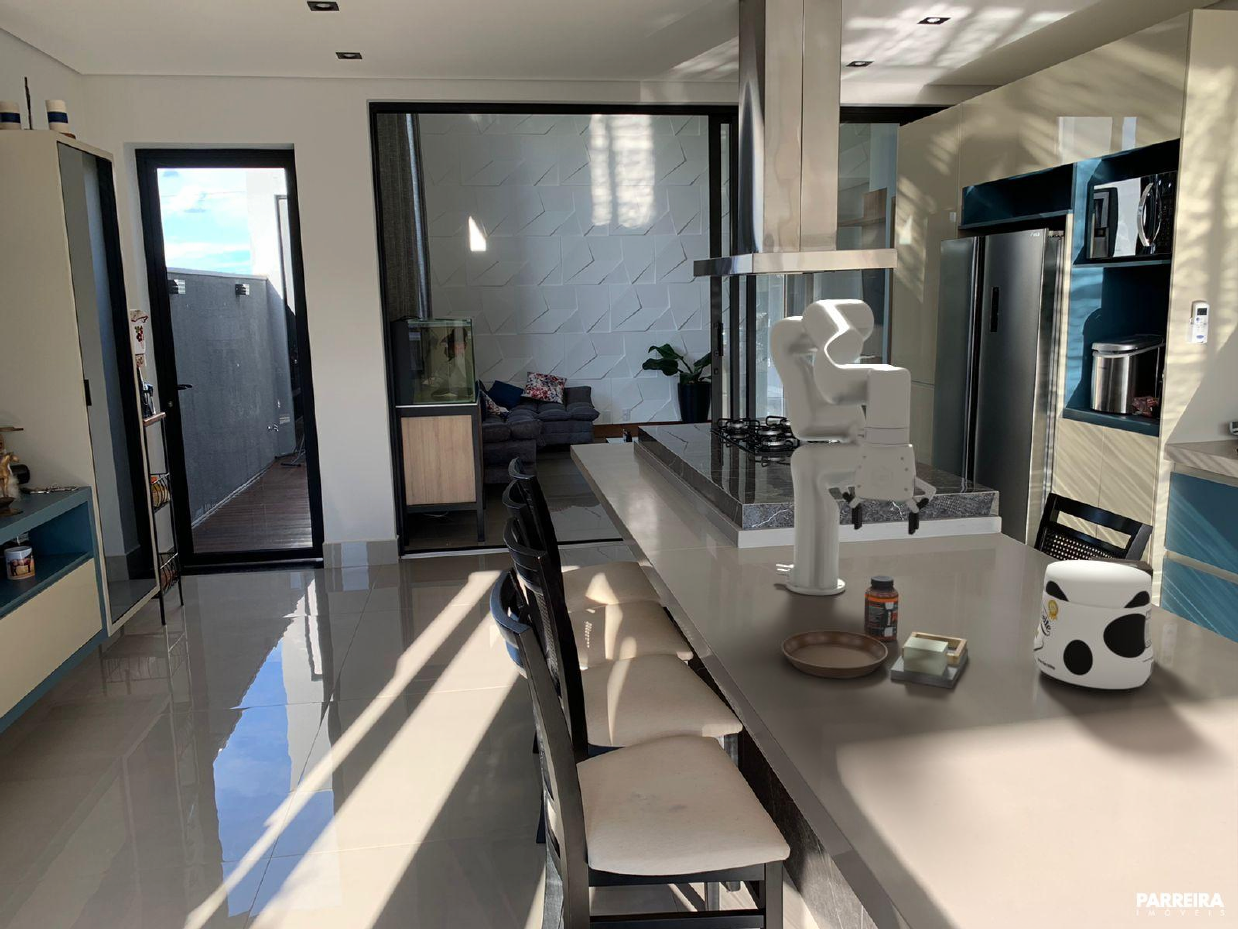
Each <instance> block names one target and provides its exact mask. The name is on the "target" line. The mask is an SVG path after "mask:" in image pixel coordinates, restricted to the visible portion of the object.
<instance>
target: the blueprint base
mask: <svg viewBox="0 0 1238 929" xmlns="http://www.w3.org/2000/svg"><path fill="white" fill-rule="evenodd" d="M968 657H969V647H968V639H966V638H958V637H953V636H948V635H947V636H946V635H938V634H933V633H932V634H931V633H925V632H918V631H912V632H911V634H910V636H909V637H908V638H907V640H906V642H904V644H903V646H902V647H901V654H900V656H899V657H898V659H897V660H896V661H895V662H894V664H893V666H892V667H891V668H890V679H894V680H900V681H905V682H912V683H917V684H923V685H927V684H928V686H933V685H934V687H939V688H944V689H951V688H952V689H953V687H954V685H955V683H956V681H957V679H958V677H959V675H960V673H961V671H962V669H963V667H964V665H965V663H966V661H967V658H968Z"/></svg>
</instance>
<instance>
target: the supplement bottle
mask: <svg viewBox="0 0 1238 929" xmlns="http://www.w3.org/2000/svg"><path fill="white" fill-rule="evenodd" d="M894 581H895V580H894V578H893V577H892V576H889V575H882V574H881V575H880V574H878V575H877V574H876V575H873V576H871V578H870V584H871V585H870V586H869V587H867V588H866V589H865V592H864V615H863V617H864V618H863V620H864V621H863V635H865V636H869V637H871V638H874V639H876V640H878V641H880V642H891V641H894V640H895V639H897V636H898V623H899V622H898V621H899V592H898V590H897V589H896V588H895V587H894V583H895V582H894Z"/></svg>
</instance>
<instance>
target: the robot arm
mask: <svg viewBox="0 0 1238 929" xmlns="http://www.w3.org/2000/svg"><path fill="white" fill-rule="evenodd" d="M874 325H875V317H874V314H873V310H872V309H871V307H870V305H868V304H867V303H866V302H864V301H863V300H859V299H824V300H818V301H817V300H816V301H814V302H812V303H810V304H809V305H808V306H807V307H805V309H804V310H803V312H802V314H801V315H800V316H797V315H796V316H789V317H785V318H781V319H778V320H777V321H775V323H773V324H772V326H771V329H770V332H769V353H770V355H771V360H772V362H773V365H774V368H775V370H776V372H777V374H778V376H779V378H780V381H781V383H782V387H783V392H784V398H785V399H784V400H785V403H786V409H787V414H788V422H789V425H790V429H791V432H792V434H793V436H794V437H795V438H796V439H797V440H799V441H800V440H801V441H806V442H807V441H808V442H809V441H811V442H815V441H817V443H808V444H804V445H801V446H799V447H797V448H796V449H795V450H794V451H793V452H792V455H791V456H790V472H791V477H792V478H791V479H792V485H793V486H792V487H793V497H794V498H793V499H794V512H793V514H794V515H793V516H794V520H793V521H794V523H793V524H794V526H793V527H794V528H793V564H790V565H786V564H781V563H779V564H778V563H777V564H775V569H774V570H775V573H777V576H787V578H788V579H786V581H785V587H786V588H787V589H788V590H789V591H792V592H794V593H798V594H801V595H807V596H808V595H809V596H831V595H836V594H840V593H842V592H844V591H845V590H846V583H845V582H844V581H843V580H842V579H840V578H839V555H840V550H839V548H840V546H839V545H840V514H841V513H840V507H839V504H838V503H837V500H835V498H834V497H833V496H832V494H831V493H830V491H829V490H830V489H835V488H838V489H839V492H840V493H841V495H842V498H843V499H844V500H845V501H846V502H847V503H848V505H849V508H851V524H852V525H853V530H856V531H857V530H859V529H861V528H862V527H863V514H864V512H863V511H864V510H863V505H862V502H864V500H865V501H874V502H877V501H878V502H889V503H890V502H891V503H905V504H906V505H907V506H908V508H909V509H910V512H908V526H907V527H908V528H907V534H908V535H909V536H910V535H911V536H913V535H914V534H915V533H916V530H919V528H920V512H921V511H922V510H923V509H924V508H925V507H926V506H927V505H928V504H929V503H930V502H931V501H932V499H933V497H934V496H935V494H936V492H937V487H935V486H933V485H931V484H929V483H928V482H927V481H924V480H922V479H921V478H919V477H918V476H917V471H916V470H917V469H916V460H915V459H916V458H915V450H914V446H913V444H910V422H911V420H910V419H911V418H910V417H911V389H912V388H911V387H912V383H911V382H912V378H911V377H912V376H911V373H910V372H911V371H910V370H909V369H908V368H905V367H900V366H899V367H898V366H896V367H895V366H893V365H890V364H883V363H882V364H880V363H879V364H878V363H877V364H875V363H874V364H868V363H863V364H862V363H861V364H852V363H854V362H856V360H857V359H858V358H859V357H860V356H861V354H862V352H863V349H864V342H865V341H866V340H868V339H869V338H870V336H871V335H872V333H873V330H874ZM804 356H814V358H813V363H812V364H813V365H812V364H811V362H809V361H808V360H806V359H805V358H804ZM862 406H865V408H866V409H865V412H864V409H863V407H862ZM820 441H839V442H820ZM849 487H852V488H853V487H854V494H853V493H852V492H851V491H850V490H849ZM917 488H919V489H921V490H922V491H923V492H925V493H924V496H923V497H922V499H920V501H919V500H918V499H917V498H916V497H915V496H916V493H917Z"/></svg>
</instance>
